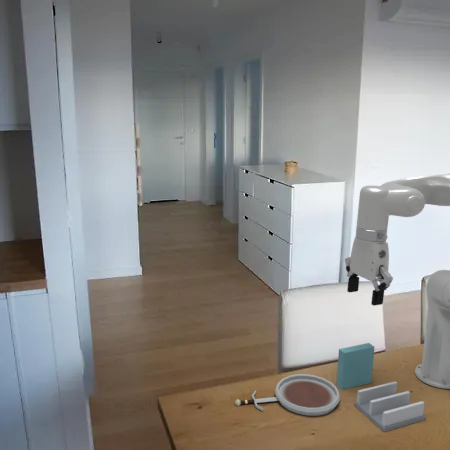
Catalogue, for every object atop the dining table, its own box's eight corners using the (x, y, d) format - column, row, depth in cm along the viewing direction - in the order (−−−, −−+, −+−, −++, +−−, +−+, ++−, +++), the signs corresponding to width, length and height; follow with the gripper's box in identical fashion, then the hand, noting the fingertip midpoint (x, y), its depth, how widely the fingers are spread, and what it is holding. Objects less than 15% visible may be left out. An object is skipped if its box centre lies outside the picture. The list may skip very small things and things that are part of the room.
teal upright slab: (365, 378, 136) (368, 342, 133) (371, 382, 133) (374, 346, 131) (336, 385, 132) (338, 349, 130) (341, 389, 130) (344, 353, 127)
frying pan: (228, 380, 130) (325, 369, 135) (229, 389, 131) (325, 379, 136) (241, 418, 114) (351, 404, 119) (242, 428, 115) (350, 415, 119)
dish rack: (393, 395, 127) (394, 380, 126) (424, 419, 117) (426, 403, 116) (354, 405, 123) (355, 390, 122) (383, 431, 112) (385, 415, 111)
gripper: (407, 241, 115) (399, 308, 118) (360, 226, 130) (354, 285, 134) (382, 244, 112) (375, 312, 115) (338, 228, 127) (332, 288, 131)
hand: (364, 297), depth 125 cm, fingers open, 9 cm apart
